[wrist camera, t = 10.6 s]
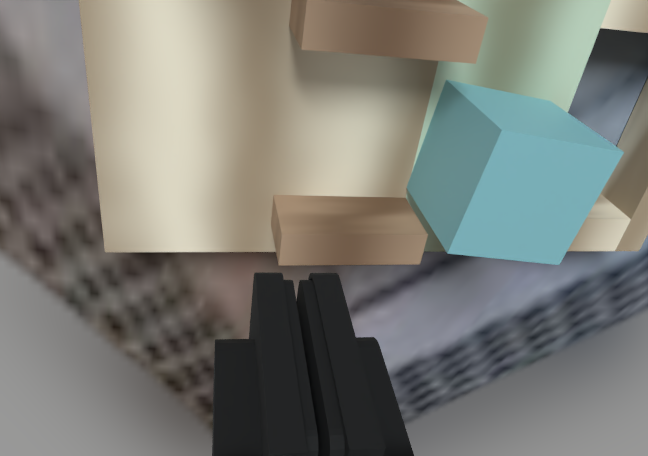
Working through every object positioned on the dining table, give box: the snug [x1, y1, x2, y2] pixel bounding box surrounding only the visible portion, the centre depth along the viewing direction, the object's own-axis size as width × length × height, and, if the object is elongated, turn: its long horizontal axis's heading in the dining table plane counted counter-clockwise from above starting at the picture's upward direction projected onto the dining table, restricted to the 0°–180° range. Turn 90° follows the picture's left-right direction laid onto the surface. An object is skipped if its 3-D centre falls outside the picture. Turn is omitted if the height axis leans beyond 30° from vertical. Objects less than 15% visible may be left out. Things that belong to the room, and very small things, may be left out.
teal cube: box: [406, 80, 624, 265], centre depth 22 cm, size 5×5×5 cm
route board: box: [79, 0, 648, 265], centre depth 23 cm, size 27×13×6 cm, turn 83°
